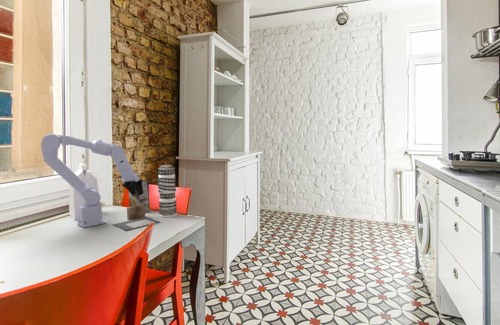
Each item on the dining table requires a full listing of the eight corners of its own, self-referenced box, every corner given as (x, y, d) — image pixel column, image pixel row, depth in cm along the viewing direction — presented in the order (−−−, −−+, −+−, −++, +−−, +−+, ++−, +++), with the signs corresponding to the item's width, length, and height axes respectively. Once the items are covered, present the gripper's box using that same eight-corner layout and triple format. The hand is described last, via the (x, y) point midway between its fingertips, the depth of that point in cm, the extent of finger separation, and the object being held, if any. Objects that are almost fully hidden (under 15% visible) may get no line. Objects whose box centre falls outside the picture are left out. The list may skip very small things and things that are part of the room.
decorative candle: (155, 217, 143) (152, 166, 141) (163, 212, 152) (162, 164, 150) (172, 217, 141) (170, 166, 139) (180, 213, 150) (178, 164, 148)
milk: (69, 215, 149) (65, 164, 147) (94, 211, 156) (91, 162, 154) (74, 219, 140) (71, 165, 138) (100, 215, 148) (97, 164, 145)
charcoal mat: (126, 231, 122) (126, 230, 122) (112, 225, 130) (112, 224, 130) (160, 222, 134) (160, 221, 134) (145, 217, 142) (145, 216, 142)
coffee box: (150, 210, 156) (149, 180, 154) (140, 213, 150) (138, 182, 149) (139, 208, 160) (138, 179, 159) (129, 211, 155) (127, 181, 154)
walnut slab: (129, 220, 138) (128, 208, 137) (127, 219, 139) (126, 207, 139) (145, 217, 144) (144, 205, 143) (143, 216, 145) (142, 204, 145)
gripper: (139, 164, 137) (152, 190, 140) (125, 166, 146) (137, 190, 150) (126, 171, 132) (139, 197, 136) (112, 172, 142) (125, 197, 145)
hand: (137, 194), depth 143 cm, fingers open, 7 cm apart
